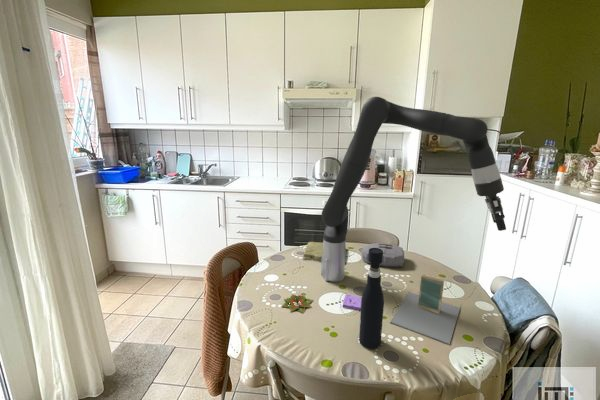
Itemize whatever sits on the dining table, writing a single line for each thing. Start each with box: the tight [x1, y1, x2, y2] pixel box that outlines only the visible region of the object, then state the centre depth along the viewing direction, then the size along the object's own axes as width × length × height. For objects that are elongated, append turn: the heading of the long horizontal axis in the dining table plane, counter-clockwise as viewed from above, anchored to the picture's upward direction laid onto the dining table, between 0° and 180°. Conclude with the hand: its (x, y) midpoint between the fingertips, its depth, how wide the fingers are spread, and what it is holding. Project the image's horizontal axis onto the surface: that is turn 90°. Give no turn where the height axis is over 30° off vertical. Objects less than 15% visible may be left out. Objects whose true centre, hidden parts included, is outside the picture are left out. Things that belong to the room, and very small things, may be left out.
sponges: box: [342, 293, 362, 312], centre depth 110 cm, size 7×13×2 cm, turn 72°
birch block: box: [418, 273, 445, 314], centre depth 105 cm, size 3×7×12 cm, turn 55°
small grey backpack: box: [360, 242, 405, 268], centre depth 143 cm, size 15×8×20 cm
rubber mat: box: [389, 291, 461, 346], centre depth 104 cm, size 22×18×1 cm
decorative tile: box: [302, 241, 347, 263], centre depth 151 cm, size 19×20×4 cm
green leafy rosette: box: [280, 291, 314, 314], centre depth 110 cm, size 12×12×5 cm
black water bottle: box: [358, 248, 385, 350], centre depth 88 cm, size 6×6×30 cm
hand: (499, 225), depth 99 cm, fingers open, 8 cm apart
